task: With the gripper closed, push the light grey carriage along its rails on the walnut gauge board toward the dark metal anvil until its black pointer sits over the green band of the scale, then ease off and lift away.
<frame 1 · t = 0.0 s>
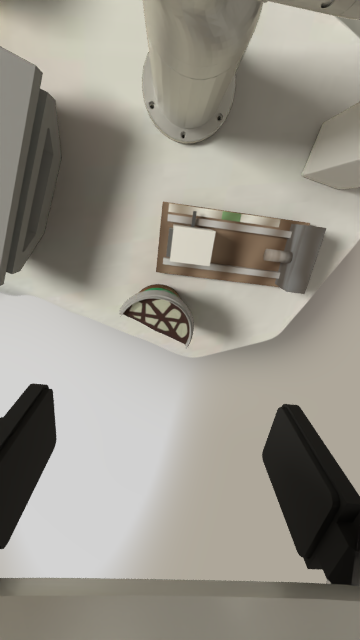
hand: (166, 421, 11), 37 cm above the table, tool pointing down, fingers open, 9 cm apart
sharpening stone: (27, 185, 39), on the table
food container: (165, 295, 47), on the table
milk carton: (330, 158, 39), on the table
gauge board: (229, 247, 44), on the table
gauge carriage: (190, 236, 39), point 4 cm above the table, slide at 0.0 cm
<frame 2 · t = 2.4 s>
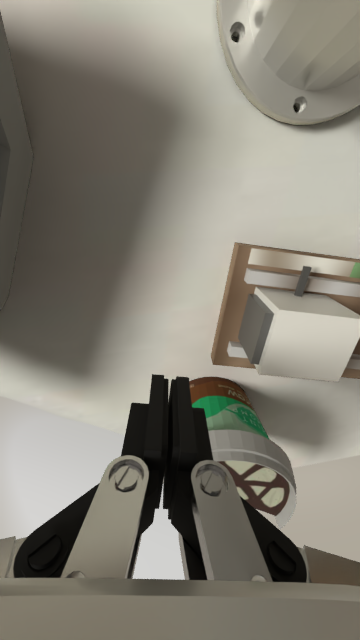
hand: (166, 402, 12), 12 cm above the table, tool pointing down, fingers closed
food container: (221, 392, 28), on the table
gauge board: (345, 319, 24), on the table
gauge carriage: (295, 317, 19), point 4 cm above the table, slide at 0.0 cm
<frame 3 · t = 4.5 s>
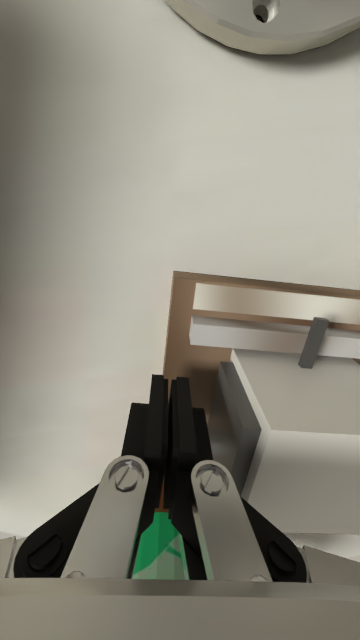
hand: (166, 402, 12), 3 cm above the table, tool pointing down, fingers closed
food container: (179, 482, 19), on the table
gauge carriage: (303, 410, 11), point 4 cm above the table, slide at 1.1 cm, touching gripper
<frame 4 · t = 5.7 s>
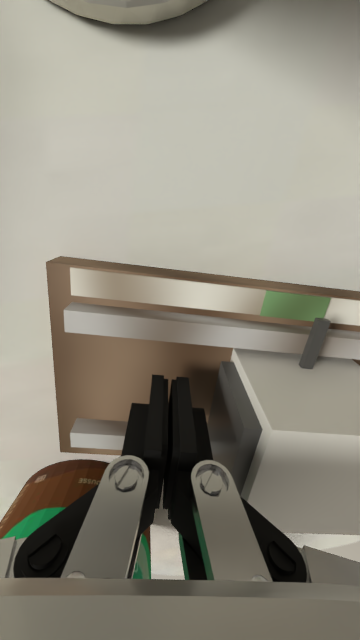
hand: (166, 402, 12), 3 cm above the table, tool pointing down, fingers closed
food container: (102, 478, 18), on the table
gauge board: (274, 375, 15), on the table
gauge carriage: (303, 411, 11), point 4 cm above the table, slide at 6.6 cm, touching gripper
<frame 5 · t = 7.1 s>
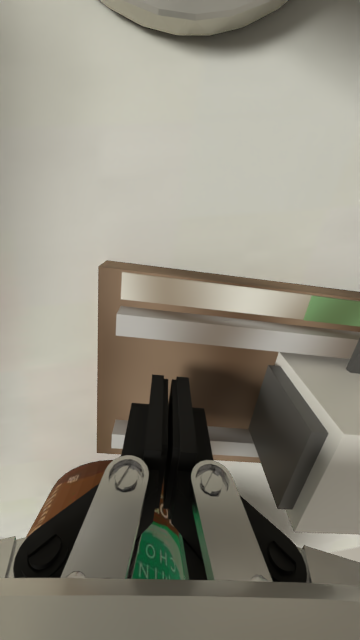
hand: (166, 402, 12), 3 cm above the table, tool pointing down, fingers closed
food container: (131, 478, 18), on the table
gauge board: (307, 377, 15), on the table
gauge carriage: (354, 414, 11), point 4 cm above the table, slide at 6.7 cm
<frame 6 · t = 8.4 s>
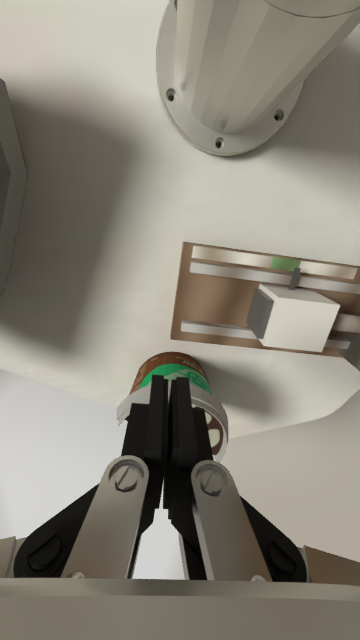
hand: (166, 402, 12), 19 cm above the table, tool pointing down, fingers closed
food container: (181, 365, 33), on the table
gauge board: (275, 303, 30), on the table
gauge carriage: (290, 305, 26), point 4 cm above the table, slide at 6.7 cm
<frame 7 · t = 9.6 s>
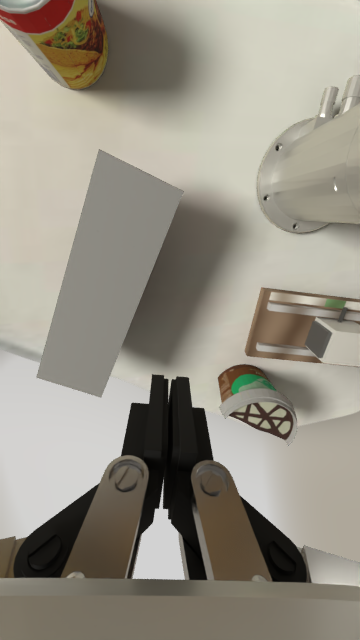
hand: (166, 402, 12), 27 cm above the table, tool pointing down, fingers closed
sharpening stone: (119, 273, 37), on the table
food container: (249, 374, 44), on the table
canned food: (71, 43, 27), on the table
gauge board: (324, 328, 41), on the table
gauge carriage: (339, 333, 37), point 4 cm above the table, slide at 6.7 cm
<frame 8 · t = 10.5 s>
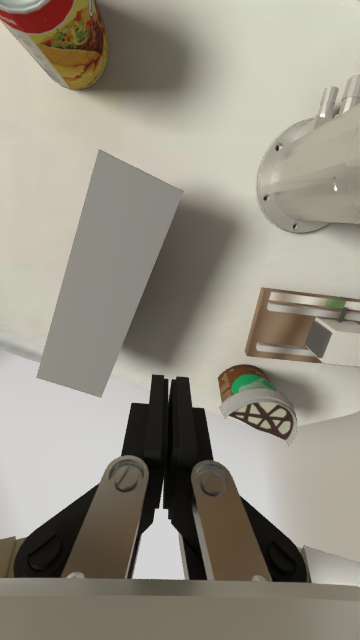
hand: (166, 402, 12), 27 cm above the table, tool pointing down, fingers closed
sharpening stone: (119, 273, 37), on the table
food container: (249, 374, 44), on the table
canned food: (71, 43, 27), on the table
gauge board: (324, 328, 41), on the table
gauge carriage: (339, 333, 37), point 4 cm above the table, slide at 6.7 cm
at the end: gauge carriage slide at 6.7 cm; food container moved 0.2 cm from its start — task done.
